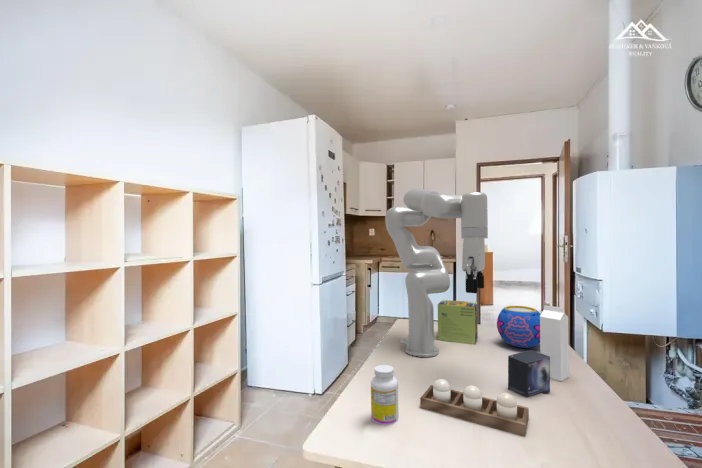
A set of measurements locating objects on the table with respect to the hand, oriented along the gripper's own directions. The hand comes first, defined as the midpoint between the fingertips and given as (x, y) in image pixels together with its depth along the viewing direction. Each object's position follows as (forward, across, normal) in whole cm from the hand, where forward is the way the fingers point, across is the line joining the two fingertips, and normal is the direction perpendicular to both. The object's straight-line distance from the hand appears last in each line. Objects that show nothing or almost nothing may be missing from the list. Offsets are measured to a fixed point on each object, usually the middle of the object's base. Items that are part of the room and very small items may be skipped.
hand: (475, 290), depth 102 cm
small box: (+29, -2, +14) cm, 32 cm away
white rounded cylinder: (+28, +19, -5) cm, 34 cm away
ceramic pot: (+28, -44, +8) cm, 53 cm away
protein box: (+29, -41, -16) cm, 52 cm away
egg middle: (+28, +19, +3) cm, 34 cm away
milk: (+28, -18, +20) cm, 39 cm away
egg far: (+28, +19, +11) cm, 35 cm away
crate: (+28, +19, +3) cm, 34 cm away
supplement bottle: (+28, +32, -15) cm, 45 cm away
